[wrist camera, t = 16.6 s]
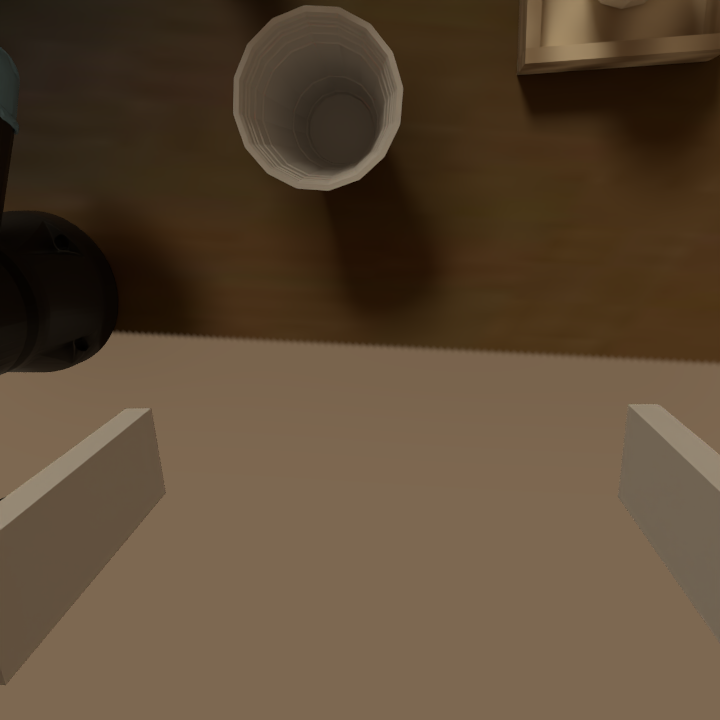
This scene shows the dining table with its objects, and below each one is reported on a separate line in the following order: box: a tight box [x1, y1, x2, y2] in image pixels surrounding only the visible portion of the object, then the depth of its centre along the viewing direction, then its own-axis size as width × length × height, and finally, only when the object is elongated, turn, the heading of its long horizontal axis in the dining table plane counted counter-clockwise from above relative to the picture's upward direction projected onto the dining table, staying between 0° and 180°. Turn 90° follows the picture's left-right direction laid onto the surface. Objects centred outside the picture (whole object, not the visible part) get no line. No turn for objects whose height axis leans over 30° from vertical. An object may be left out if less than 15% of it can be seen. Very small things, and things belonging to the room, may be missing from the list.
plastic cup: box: [233, 5, 403, 191], centre depth 39 cm, size 11×11×12 cm
